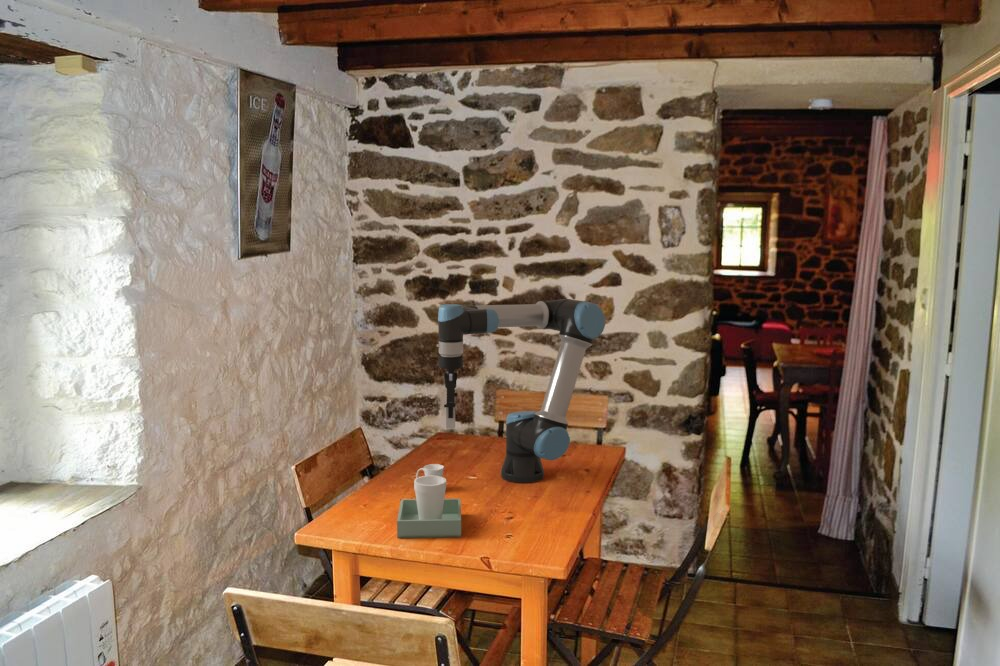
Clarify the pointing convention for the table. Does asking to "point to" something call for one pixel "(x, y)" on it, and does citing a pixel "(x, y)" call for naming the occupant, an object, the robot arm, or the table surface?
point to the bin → (429, 521)
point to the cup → (432, 470)
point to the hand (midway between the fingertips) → (450, 422)
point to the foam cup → (430, 496)
